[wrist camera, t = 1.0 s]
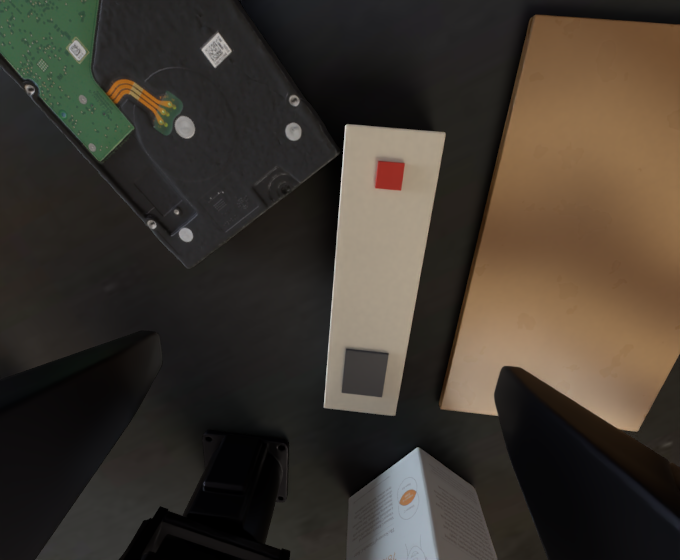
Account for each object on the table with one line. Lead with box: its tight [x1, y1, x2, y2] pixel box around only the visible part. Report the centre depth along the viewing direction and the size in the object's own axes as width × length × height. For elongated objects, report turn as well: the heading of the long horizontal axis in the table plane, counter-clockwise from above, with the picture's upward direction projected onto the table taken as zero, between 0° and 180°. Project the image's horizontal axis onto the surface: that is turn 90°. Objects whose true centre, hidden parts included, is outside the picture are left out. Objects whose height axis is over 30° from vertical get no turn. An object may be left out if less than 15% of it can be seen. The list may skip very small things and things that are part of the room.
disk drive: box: [0, 0, 340, 269], centre depth 17 cm, size 10×3×15 cm
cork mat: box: [439, 14, 680, 432], centre depth 19 cm, size 22×13×1 cm, turn 176°
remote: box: [324, 124, 446, 416], centre depth 19 cm, size 16×4×3 cm, turn 176°
